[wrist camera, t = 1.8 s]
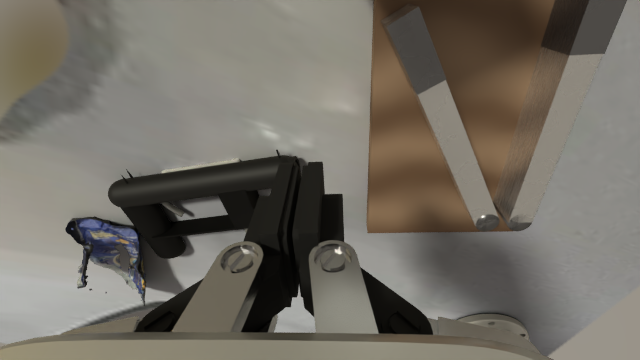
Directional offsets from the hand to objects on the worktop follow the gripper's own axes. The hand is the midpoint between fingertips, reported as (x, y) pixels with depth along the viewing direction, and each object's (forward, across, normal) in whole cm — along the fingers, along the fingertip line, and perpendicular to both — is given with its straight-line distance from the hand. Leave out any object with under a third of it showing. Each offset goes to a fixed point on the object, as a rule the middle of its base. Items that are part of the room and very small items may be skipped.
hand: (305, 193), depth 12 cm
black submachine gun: (+17, +12, +14) cm, 25 cm away
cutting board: (+16, -12, +3) cm, 20 cm away
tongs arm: (+14, -10, +4) cm, 18 cm away
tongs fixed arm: (+14, -17, +2) cm, 23 cm away
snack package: (+17, +26, +20) cm, 37 cm away
